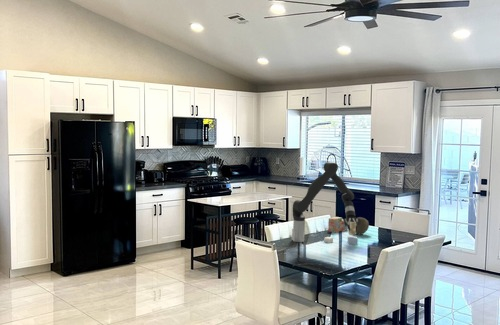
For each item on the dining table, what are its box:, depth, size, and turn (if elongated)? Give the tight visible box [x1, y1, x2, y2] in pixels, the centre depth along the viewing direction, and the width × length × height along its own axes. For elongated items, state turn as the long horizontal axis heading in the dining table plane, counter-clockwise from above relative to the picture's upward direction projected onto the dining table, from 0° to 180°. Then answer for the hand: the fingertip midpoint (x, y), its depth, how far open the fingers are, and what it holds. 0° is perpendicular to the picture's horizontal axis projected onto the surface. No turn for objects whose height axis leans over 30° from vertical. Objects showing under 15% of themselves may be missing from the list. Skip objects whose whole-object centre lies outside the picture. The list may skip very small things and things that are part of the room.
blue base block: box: [347, 235, 359, 245], centre depth 386 cm, size 7×7×5 cm
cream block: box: [323, 236, 334, 244], centre depth 389 cm, size 5×5×4 cm
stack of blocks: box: [327, 216, 349, 233], centre depth 436 cm, size 21×6×12 cm, turn 133°
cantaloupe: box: [355, 216, 370, 235], centre depth 422 cm, size 14×14×15 cm
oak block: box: [348, 222, 357, 236], centre depth 386 cm, size 4×4×10 cm
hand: (352, 229), depth 384 cm, fingers closed on oak block, 4 cm apart
